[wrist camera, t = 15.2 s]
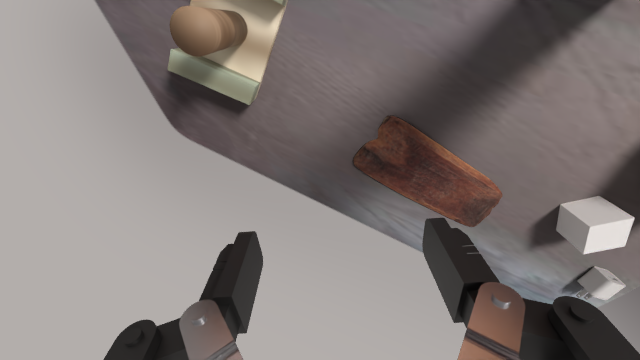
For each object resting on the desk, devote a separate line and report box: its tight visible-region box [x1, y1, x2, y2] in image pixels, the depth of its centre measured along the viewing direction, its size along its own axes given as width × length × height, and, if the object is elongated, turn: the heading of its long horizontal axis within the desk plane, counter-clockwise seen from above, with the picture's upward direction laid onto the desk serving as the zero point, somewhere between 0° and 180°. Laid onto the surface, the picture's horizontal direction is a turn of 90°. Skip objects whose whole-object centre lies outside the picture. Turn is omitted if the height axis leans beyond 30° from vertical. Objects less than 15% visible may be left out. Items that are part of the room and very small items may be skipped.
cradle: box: [168, 0, 288, 105], centre depth 31 cm, size 14×10×4 cm
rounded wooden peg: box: [170, 6, 248, 57], centre depth 27 cm, size 4×4×12 cm
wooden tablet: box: [353, 116, 502, 227], centre depth 43 cm, size 26×2×10 cm
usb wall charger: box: [576, 266, 626, 300], centre depth 54 cm, size 4×7×4 cm, turn 161°
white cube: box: [556, 196, 634, 254], centre depth 44 cm, size 6×6×6 cm
